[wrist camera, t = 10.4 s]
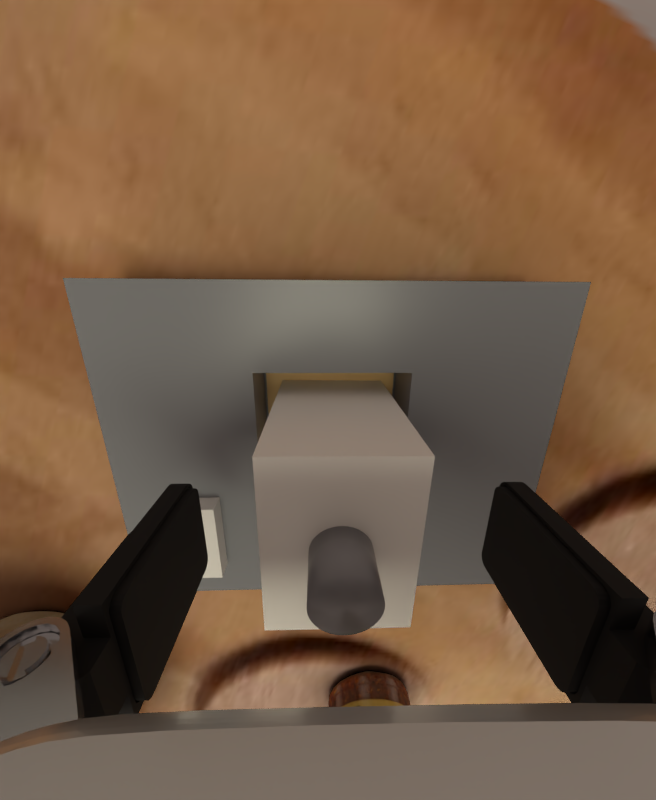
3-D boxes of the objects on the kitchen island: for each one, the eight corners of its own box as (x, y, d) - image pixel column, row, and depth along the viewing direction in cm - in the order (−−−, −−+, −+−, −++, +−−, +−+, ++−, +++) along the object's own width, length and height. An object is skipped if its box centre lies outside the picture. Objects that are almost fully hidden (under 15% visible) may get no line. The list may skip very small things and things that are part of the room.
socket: (527, 284, 14) (611, 281, 10) (477, 532, 19) (521, 598, 15) (124, 281, 14) (42, 276, 10) (174, 537, 18) (133, 608, 14)
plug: (381, 380, 14) (463, 496, 6) (372, 491, 16) (427, 689, 8) (282, 380, 14) (235, 497, 6) (286, 491, 16) (254, 693, 8)
